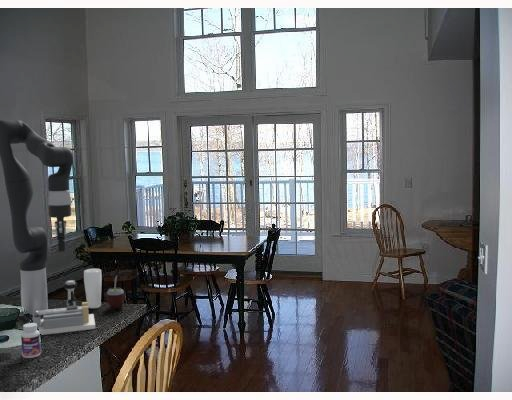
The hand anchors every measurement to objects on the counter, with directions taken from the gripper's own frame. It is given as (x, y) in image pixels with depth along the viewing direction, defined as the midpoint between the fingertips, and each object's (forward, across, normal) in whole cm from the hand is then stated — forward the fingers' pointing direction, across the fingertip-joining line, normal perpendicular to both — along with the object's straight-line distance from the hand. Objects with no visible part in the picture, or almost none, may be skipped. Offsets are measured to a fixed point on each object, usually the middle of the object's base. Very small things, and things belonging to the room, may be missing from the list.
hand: (61, 251), depth 196 cm
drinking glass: (+27, +17, -11) cm, 34 cm away
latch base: (+27, -3, +1) cm, 27 cm away
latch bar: (+22, -3, +1) cm, 22 cm away
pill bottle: (+27, -28, +10) cm, 40 cm away
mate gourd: (+27, +11, -19) cm, 35 cm away
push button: (+27, +22, -2) cm, 35 cm away
